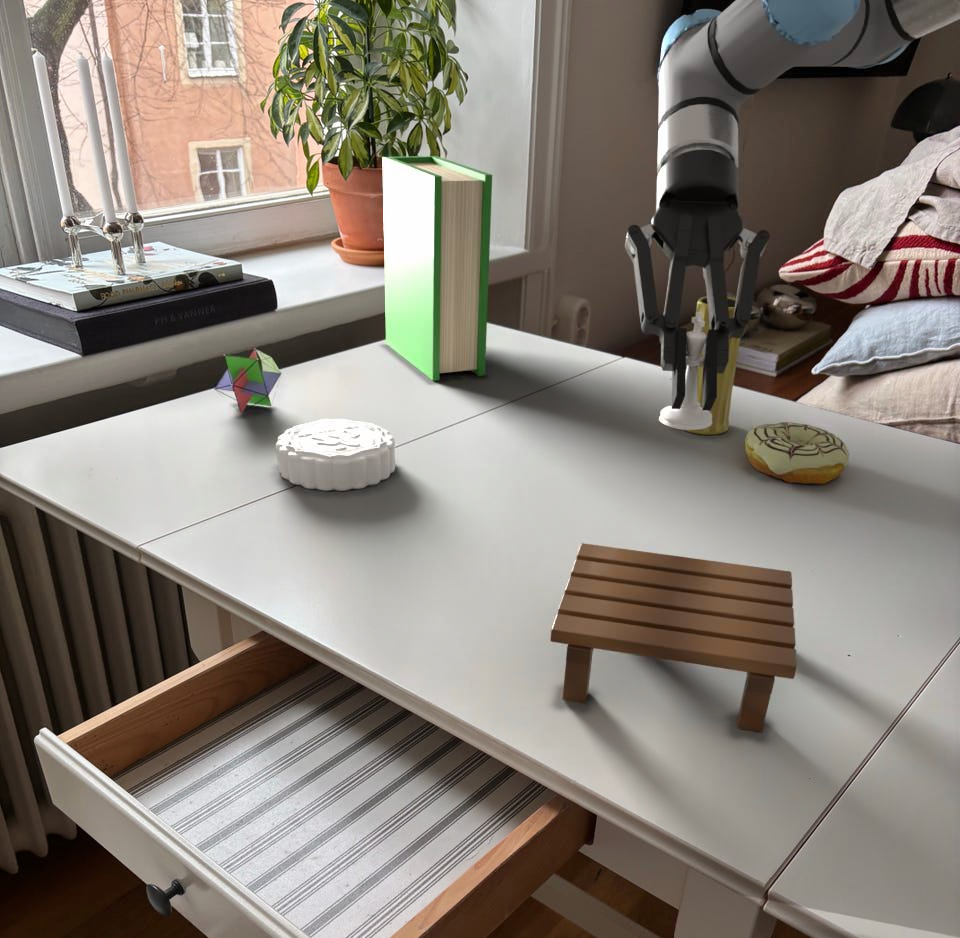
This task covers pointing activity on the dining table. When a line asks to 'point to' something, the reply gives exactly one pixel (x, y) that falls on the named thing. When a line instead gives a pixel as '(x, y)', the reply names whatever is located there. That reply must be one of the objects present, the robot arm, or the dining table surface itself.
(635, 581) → the bench
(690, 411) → the chess piece
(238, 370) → the geometric puzzle
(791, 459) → the decorated donut
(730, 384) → the vase
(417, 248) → the hardback book
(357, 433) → the mooncake
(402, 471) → the dining table surface
